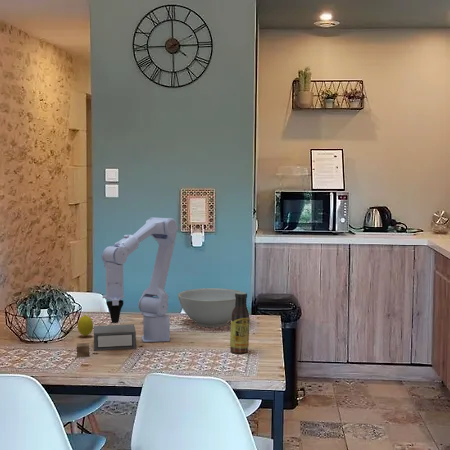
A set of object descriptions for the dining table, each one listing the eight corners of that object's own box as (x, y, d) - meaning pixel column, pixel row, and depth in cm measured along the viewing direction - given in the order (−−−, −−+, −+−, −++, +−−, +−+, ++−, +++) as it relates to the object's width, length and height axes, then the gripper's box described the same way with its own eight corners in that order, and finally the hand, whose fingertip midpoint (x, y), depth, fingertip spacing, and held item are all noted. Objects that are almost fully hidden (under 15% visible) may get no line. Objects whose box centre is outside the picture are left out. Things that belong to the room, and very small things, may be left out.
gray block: (133, 340, 231) (133, 324, 231) (135, 348, 221) (135, 331, 220) (93, 342, 229) (93, 325, 228) (94, 350, 218) (93, 333, 217)
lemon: (89, 338, 234) (89, 317, 233) (75, 338, 235) (74, 316, 234) (95, 335, 239) (95, 313, 238) (81, 334, 240) (81, 313, 239)
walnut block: (89, 353, 215) (89, 342, 214) (89, 356, 211) (89, 346, 210) (77, 353, 214) (76, 343, 214) (76, 357, 210) (76, 346, 210)
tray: (130, 338, 230) (130, 328, 229) (132, 345, 220) (132, 334, 220) (97, 339, 227) (97, 329, 227) (97, 347, 218) (97, 336, 218)
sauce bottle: (235, 354, 213) (235, 295, 212) (226, 350, 219) (226, 292, 217) (252, 352, 216) (253, 293, 215) (243, 348, 222) (244, 290, 220)
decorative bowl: (164, 323, 258) (164, 293, 257) (214, 314, 276) (214, 285, 275) (208, 335, 238) (208, 303, 238) (259, 324, 256) (259, 294, 256)
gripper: (102, 279, 222) (102, 318, 223) (102, 286, 208) (103, 328, 209) (122, 278, 223) (123, 317, 224) (124, 285, 209) (125, 327, 210)
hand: (115, 322), depth 217 cm, fingers closed
